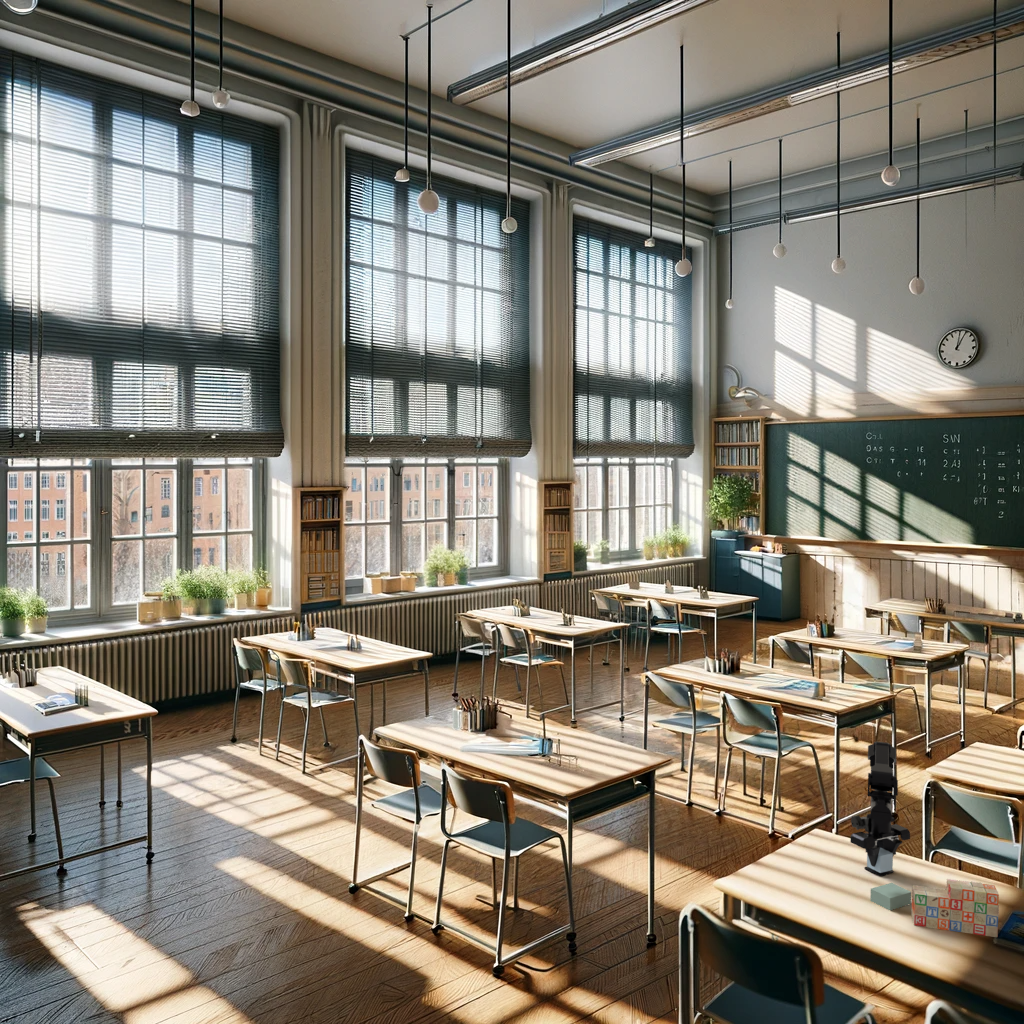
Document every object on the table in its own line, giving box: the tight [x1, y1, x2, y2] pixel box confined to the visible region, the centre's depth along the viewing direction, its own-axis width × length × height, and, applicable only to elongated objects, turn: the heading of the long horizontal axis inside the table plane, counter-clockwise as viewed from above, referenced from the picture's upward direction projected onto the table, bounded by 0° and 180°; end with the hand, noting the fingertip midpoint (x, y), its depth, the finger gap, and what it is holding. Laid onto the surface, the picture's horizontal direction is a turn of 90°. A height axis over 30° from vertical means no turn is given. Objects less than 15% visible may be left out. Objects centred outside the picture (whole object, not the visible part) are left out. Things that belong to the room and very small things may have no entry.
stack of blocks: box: [911, 878, 1000, 938], centre depth 260 cm, size 21×6×12 cm, turn 73°
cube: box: [866, 848, 894, 873], centre depth 275 cm, size 5×5×5 cm
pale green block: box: [869, 882, 912, 911], centre depth 275 cm, size 9×7×4 cm
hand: (879, 864), depth 275 cm, fingers closed on cube, 5 cm apart
